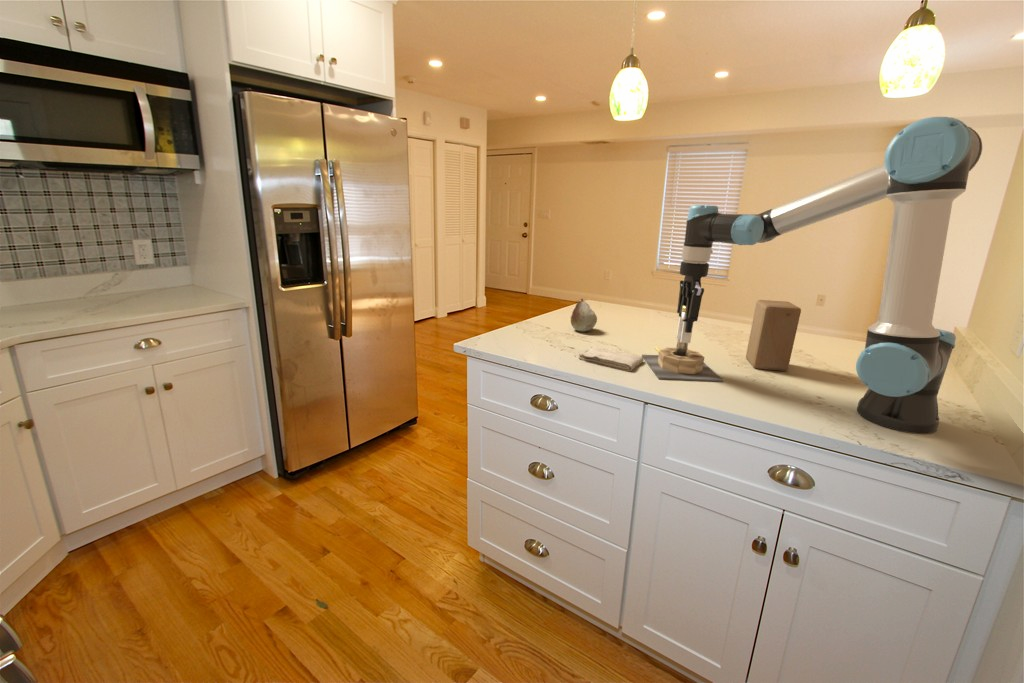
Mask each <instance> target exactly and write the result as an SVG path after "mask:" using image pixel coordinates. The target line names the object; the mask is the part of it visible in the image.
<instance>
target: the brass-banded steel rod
mask: <svg viewBox="0 0 1024 683" xmlns="http://www.w3.org/2000/svg"><path fill="white" fill-rule="evenodd" d="M685 315H686V305H683V306H682V313H681V320H680V326H679V333H678V339H677V340H676V341H677V342H676V347H675V348H676V353H675V355H677V356H682V357H686V356H687V349H689V348H688V347H689V343H681V342H680V340H681V334H682V327H683V319H685Z"/></svg>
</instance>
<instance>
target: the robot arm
mask: <svg viewBox="0 0 1024 683" xmlns="http://www.w3.org/2000/svg"><path fill="white" fill-rule="evenodd" d="M982 152H983V142H982V138H981V137H980V135H979V133H978V132H976V130H975V129H973V128H972V127H970V126H968V125H967V124H966V123H965V122H963V121H962V120H960V119H958V118H955V117H950V116H949V117H948V116H930V117H925V118H922V119H920V120H916V121H914V122H912V123H910V124H908V125H907V126H905V127H904V128H902V129H901V130H900V131H899V132H897V134H895V135H894V137H893V138H892V139H891V141H890V142H889V143H888V146H887V148H886V149H885V152H884V157H883V158H884V160H883V161H884V162H883V163H881V164H878V165H876V166H874V167H871V168H869V169H866V170H864V171H861V172H859V173H856V174H854V175H852V176H850V177H847V178H844V179H842V180H839V181H837V182H834V183H832V184H830V185H827V186H824V187H822V188H820V189H817V190H815V191H812V192H809V193H807V194H805V195H801V196H800V197H797V198H795V199H792V200H790V201H788V202H785V203H783V204H780V205H778V206H775V207H773V208H771V209H768V210H765V211H763V212H760V213H757V214H753V213H752V214H751V213H750V214H744V213H742V214H740V213H739V214H738V213H736V214H735V213H720V212H719V207H718V206H717V205H712V204H710V205H709V204H708V205H706V204H693V205H690V207H689V209H688V213H687V218H686V222H685V223H686V224H685V225H686V226H685V227H686V228H685V235H684V241H683V242H684V243H683V245H682V252H681V260H682V261H680V266H679V274H680V275H681V276H684V279H683V280H680V281H679V292H678V293H679V294H678V303H677V308H676V309H677V310H676V313H677V314H678V323H677V329H676V330H677V331H676V336H675V338H676V339H677V340H678V333H679V326H680V320H681V313H682V306H683V305H686V315H685V319H683V327H682V334H681V340H680V342H681V343H688V344H691V341H692V336H693V335H692V334H693V328H694V323H695V322H698V320H699V315H700V310H701V309H700V308H701V304H702V300H703V299H702V298H703V295H704V292H705V288H703V287H702V281H701V280H702V278H705V277H707V276H708V274H709V269H710V264H709V262H710V261H711V255H712V254H713V250H712V249H713V244H714V243H722V244H734V245H737V246H755V245H756V244H757V243H758V244H764V243H768V242H770V241H773V240H774V239H776V238H777V237H779V236H781V235H784V234H787V233H790V232H793V231H796V230H799V229H801V228H804V227H808V226H809V225H813V224H816V223H819V222H821V221H824V220H827V219H829V218H832V217H836V216H838V215H841V214H844V213H846V212H850V211H853V210H855V209H858V208H861V207H864V206H866V205H871V204H872V203H873V204H874V203H876V202H878V201H881V200H884V199H888V200H890V202H892V203H893V205H894V206H893V213H892V221H891V226H890V235H889V242H888V247H887V254H886V262H885V268H884V274H883V275H884V276H883V282H882V283H883V284H882V290H881V297H880V303H879V304H880V305H879V311H878V316H877V321H876V322H874V323H873V324H871V325H870V326H868V327H867V331H866V332H867V333H866V339H865V344H864V345H865V346H864V349H863V350H862V351H860V354H858V357H857V360H856V364H855V368H856V369H855V370H856V374H857V376H858V379H859V380H860V381H861V382H862V383H863V385H865V387H867V388H868V389H867V390H866V392H865V393H864V395H863V397H861V398H860V399H859V401H858V403H857V407H856V411H857V413H858V415H860V416H861V417H862V418H864V419H866V420H868V421H869V422H872V423H874V424H875V425H876V424H877V425H879V426H882V427H885V428H889V429H891V430H895V431H900V432H905V433H911V434H921V435H922V434H923V435H925V434H932V433H935V432H937V430H938V427H939V424H940V417H939V405H938V404H939V403H938V394H939V391H940V388H941V386H942V382H943V379H944V376H945V373H946V370H947V368H948V367H947V366H948V364H949V361H950V358H951V355H952V352H953V350H954V349H955V348H956V340H957V338H956V334H955V333H953V332H951V331H949V330H944V329H941V328H940V329H939V328H935V326H934V325H933V320H934V314H935V309H936V308H935V307H936V301H937V295H938V292H939V291H938V289H939V284H940V280H941V279H940V277H941V271H942V266H943V260H944V255H945V249H946V243H947V237H948V230H949V226H950V221H951V214H952V207H953V202H954V201H955V199H957V198H958V197H960V196H961V195H962V194H963V193H965V192H966V191H967V185H968V179H969V174H970V172H971V171H972V170H973V169H974V168H975V167H976V164H978V162H979V160H980V158H981V155H982Z"/></svg>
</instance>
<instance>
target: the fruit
mask: <svg viewBox="0 0 1024 683" xmlns="http://www.w3.org/2000/svg"><path fill="white" fill-rule="evenodd" d="M597 320H598V316H597V315H596V313H595V311H594V310H593V309H592V308H591V306H590V304H588V302H587V301H584V298H580V301H578V302H577V303H576V304H575V306H574V309H573V311H572V313H571V315H570V324H571V327H572V328H573V330H575V331H577V332H582V333H584V332H589V331H591V330H593V328H594V327H595V326H596V325H597V322H598V321H597Z"/></svg>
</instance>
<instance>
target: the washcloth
mask: <svg viewBox="0 0 1024 683" xmlns="http://www.w3.org/2000/svg"><path fill="white" fill-rule="evenodd" d="M578 359H579V360H581V361H584V362H587V363H591V364H594V365H600V366H603V367H607V368H611V369H616V370H621V371H625V372H632V371H633V370H634V369H635V368H636V367H638V366H640V364H642V363H643V362H644V359H643V357H642V355H638V354H635V353H629V352H627V351H623V350H617V349H613V348H608V347H604V346H600V345H593V346H590V347H589V348H588V349H585V351H582V352H580V353H579V354H578Z"/></svg>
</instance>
